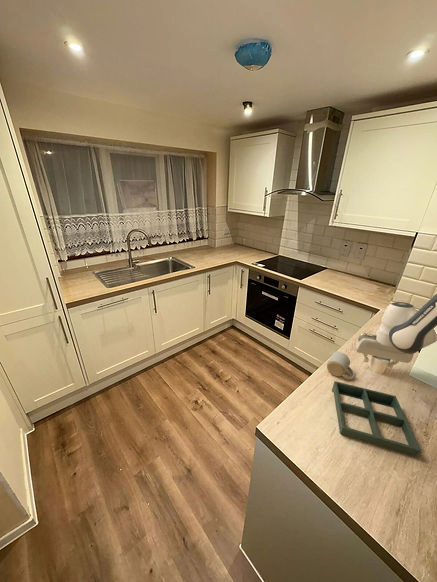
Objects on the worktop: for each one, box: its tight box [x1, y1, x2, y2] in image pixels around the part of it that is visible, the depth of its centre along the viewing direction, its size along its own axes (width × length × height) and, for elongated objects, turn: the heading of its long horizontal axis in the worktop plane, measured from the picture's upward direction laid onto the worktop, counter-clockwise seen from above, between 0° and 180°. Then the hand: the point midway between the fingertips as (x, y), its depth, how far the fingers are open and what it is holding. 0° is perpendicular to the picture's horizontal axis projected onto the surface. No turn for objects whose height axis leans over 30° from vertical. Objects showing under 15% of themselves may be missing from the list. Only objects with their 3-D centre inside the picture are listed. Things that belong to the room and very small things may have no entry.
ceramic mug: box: [326, 351, 355, 381], centre depth 99 cm, size 11×8×8 cm
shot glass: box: [368, 355, 392, 375], centre depth 102 cm, size 7×7×7 cm
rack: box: [331, 380, 421, 458], centre depth 79 cm, size 20×20×5 cm
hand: (377, 363), depth 102 cm, fingers open, 8 cm apart
